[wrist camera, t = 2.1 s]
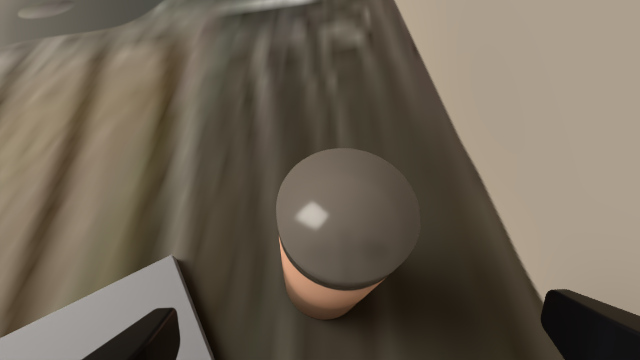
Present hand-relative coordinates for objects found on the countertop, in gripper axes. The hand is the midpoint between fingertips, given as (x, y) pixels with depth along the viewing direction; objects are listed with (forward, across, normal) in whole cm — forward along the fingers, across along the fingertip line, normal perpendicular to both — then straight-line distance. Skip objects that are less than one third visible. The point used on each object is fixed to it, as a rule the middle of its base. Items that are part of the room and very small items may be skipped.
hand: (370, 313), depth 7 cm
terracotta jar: (+10, 0, +6) cm, 12 cm away
